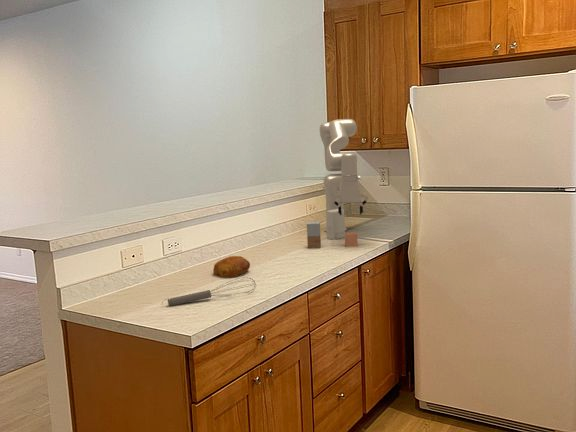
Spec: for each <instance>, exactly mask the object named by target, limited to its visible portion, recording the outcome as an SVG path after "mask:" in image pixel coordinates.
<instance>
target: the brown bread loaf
mask: <svg viewBox="0 0 576 432" xmlns="http://www.w3.org/2000/svg"><path fill="white" fill-rule="evenodd" d="M250 267H251V263H250V261H249V260H248V259H246V258H245V257H243V256H239V255H238V256H236V255H232V256H231V255H230V256H228V257H225V258H223V259H220V260H218V261H217V262H216V263H214V265H213V274H214V276H217V277H221V278H222V277H223V278H235V277H237V276H241V275H242V274H244V273H246V272H248V270H250Z"/></svg>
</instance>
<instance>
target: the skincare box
mask: <svg viewBox="0 0 576 432" xmlns="http://www.w3.org/2000/svg"><path fill="white" fill-rule="evenodd" d="M341 213H342V215H340V213H339V214H338V209H334V210H330V211H325V217H326V219H325V221H326V228H327V232H326V238H327V239H329V240H332V239H333V240H334V241H335V240H339V239H343V238H344V239H345V232H346V231H345V227H346V222H345V209H343V210H341ZM333 240H332V241H333Z"/></svg>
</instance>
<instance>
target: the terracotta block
mask: <svg viewBox="0 0 576 432" xmlns="http://www.w3.org/2000/svg"><path fill="white" fill-rule="evenodd" d="M358 242H359V241H358V231H350V232H349V231H348V232H346V231H345V237H344V247H346V248H348V247H349V248H353V247H356V248H357V247H358V245H359V244H358Z"/></svg>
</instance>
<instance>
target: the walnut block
mask: <svg viewBox="0 0 576 432" xmlns="http://www.w3.org/2000/svg"><path fill="white" fill-rule="evenodd" d="M306 236H307V235H306ZM306 240H307V249H321V245H322V243H321V242H322V240H321V235H320V236H307V237H306Z"/></svg>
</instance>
